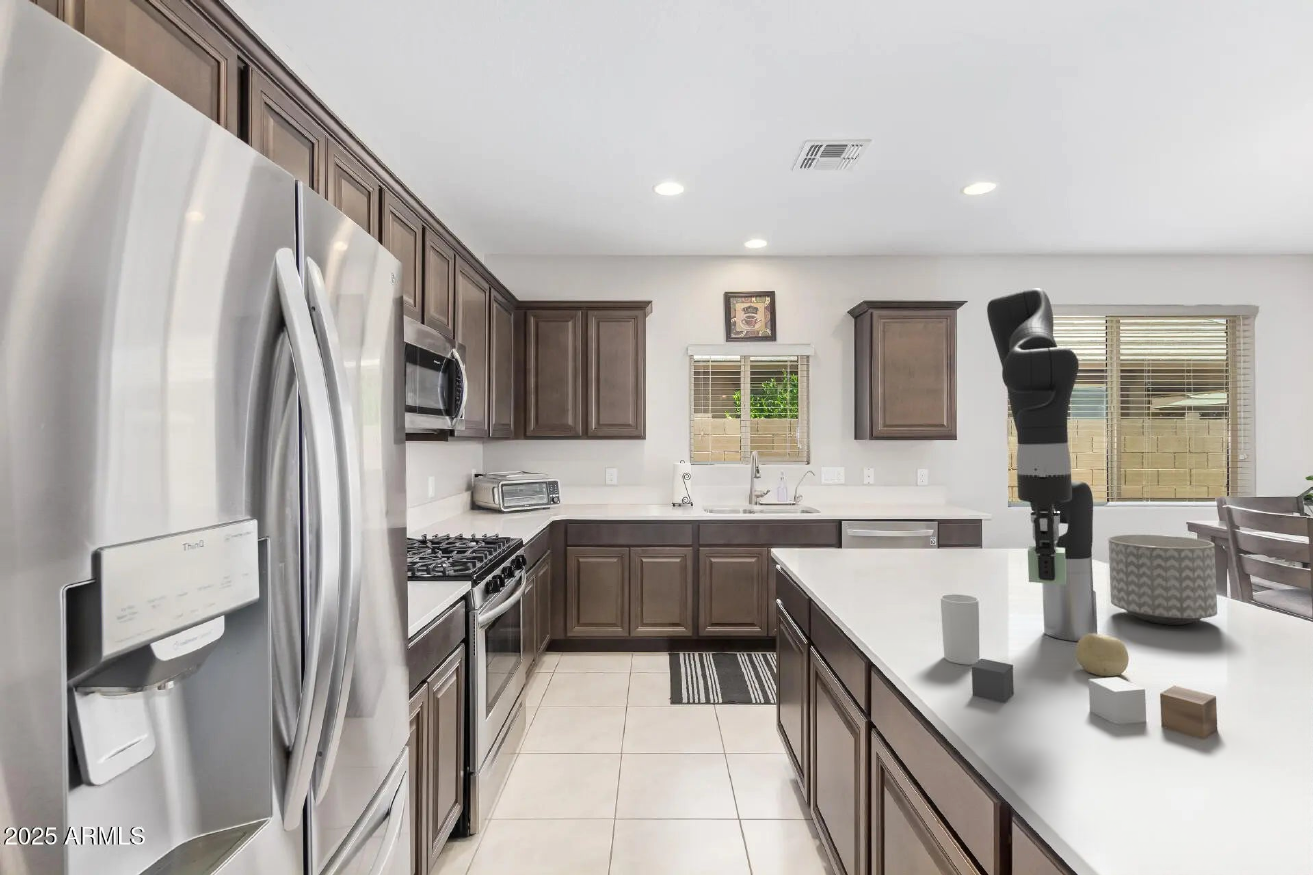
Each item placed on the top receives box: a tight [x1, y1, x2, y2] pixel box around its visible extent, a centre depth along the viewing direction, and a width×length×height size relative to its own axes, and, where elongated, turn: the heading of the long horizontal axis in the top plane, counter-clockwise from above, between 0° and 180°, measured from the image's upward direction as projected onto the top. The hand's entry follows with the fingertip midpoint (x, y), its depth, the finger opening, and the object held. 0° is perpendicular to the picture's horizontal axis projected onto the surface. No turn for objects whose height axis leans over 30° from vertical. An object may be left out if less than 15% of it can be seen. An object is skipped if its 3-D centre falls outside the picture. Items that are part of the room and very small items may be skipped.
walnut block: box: [1159, 685, 1218, 740], centre depth 93 cm, size 5×5×5 cm
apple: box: [1075, 633, 1129, 677], centre depth 115 cm, size 8×8×8 cm
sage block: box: [1027, 545, 1066, 585], centre depth 103 cm, size 5×5×5 cm
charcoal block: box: [971, 658, 1015, 704], centre depth 107 cm, size 5×5×5 cm
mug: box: [940, 593, 980, 666], centre depth 125 cm, size 10×7×12 cm, turn 137°
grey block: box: [1088, 676, 1147, 725], centre depth 98 cm, size 5×5×5 cm
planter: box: [1107, 534, 1218, 626], centre depth 145 cm, size 19×19×18 cm
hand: (1047, 575), depth 103 cm, fingers closed on sage block, 5 cm apart
